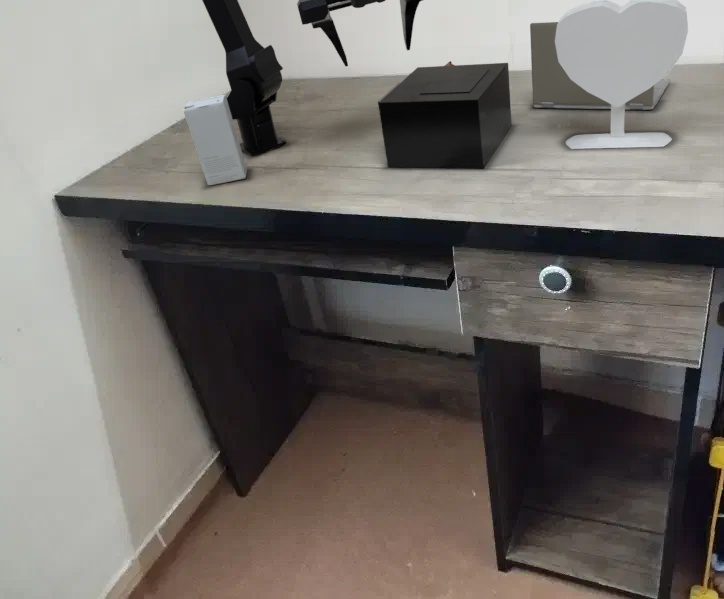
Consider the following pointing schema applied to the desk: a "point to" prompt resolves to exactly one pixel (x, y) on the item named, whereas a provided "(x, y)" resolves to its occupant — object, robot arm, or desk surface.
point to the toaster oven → (446, 116)
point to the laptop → (560, 89)
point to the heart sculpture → (620, 58)
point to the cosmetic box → (215, 139)
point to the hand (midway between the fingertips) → (377, 57)
